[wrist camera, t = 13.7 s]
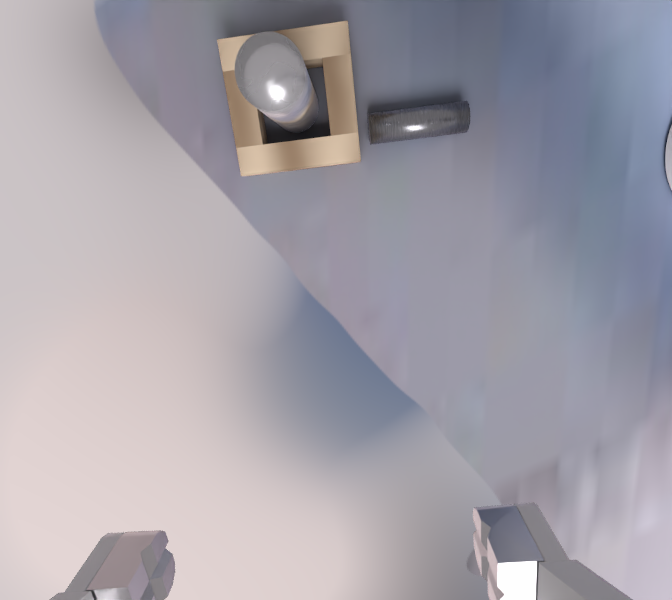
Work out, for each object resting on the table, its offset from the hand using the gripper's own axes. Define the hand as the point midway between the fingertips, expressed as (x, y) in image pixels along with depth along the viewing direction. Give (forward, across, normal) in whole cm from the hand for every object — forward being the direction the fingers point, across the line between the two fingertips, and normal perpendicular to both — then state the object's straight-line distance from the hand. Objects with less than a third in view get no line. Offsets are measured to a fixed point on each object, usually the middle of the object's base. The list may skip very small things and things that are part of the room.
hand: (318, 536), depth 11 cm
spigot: (+29, +2, -15) cm, 33 cm away
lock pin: (+29, -8, -12) cm, 33 cm away
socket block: (+29, +2, -15) cm, 33 cm away
